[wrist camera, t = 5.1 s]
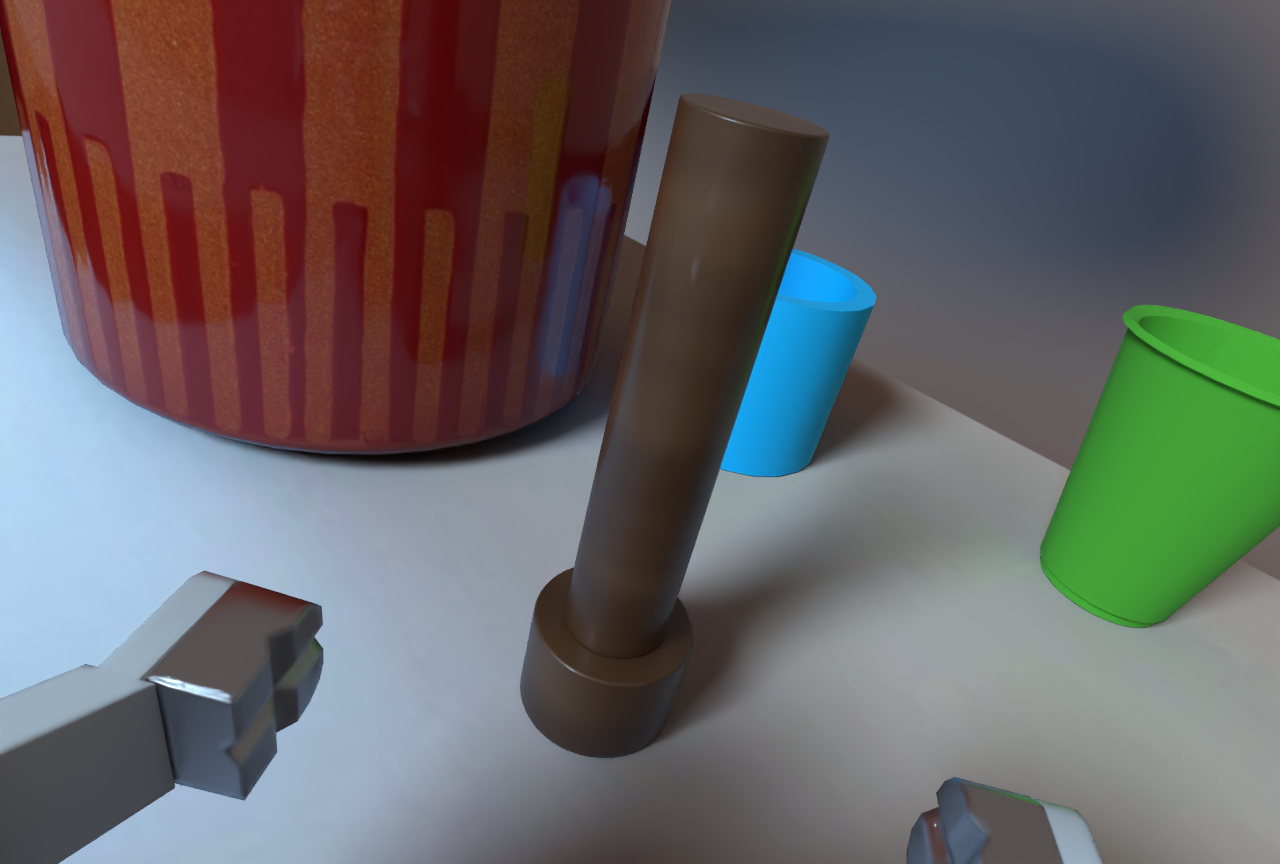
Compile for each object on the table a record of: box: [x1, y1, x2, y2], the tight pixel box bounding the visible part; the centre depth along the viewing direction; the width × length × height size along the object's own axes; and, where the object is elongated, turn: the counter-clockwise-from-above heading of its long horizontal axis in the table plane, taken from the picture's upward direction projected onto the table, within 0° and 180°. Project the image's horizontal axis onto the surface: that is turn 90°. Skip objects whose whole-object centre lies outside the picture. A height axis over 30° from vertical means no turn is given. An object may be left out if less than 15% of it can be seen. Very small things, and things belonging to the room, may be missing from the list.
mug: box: [720, 249, 876, 476], centre depth 36 cm, size 12×8×8 cm
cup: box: [1040, 305, 1280, 628], centre depth 29 cm, size 9×9×11 cm
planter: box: [0, 0, 671, 455], centre depth 31 cm, size 23×23×20 cm
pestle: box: [520, 93, 829, 758], centre depth 18 cm, size 4×4×16 cm
